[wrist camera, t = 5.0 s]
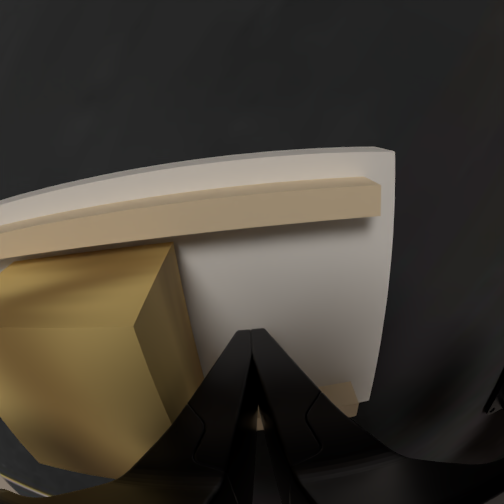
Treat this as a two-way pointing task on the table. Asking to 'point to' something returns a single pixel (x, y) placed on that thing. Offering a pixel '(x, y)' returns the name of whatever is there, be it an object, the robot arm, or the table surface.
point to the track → (246, 248)
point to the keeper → (95, 355)
